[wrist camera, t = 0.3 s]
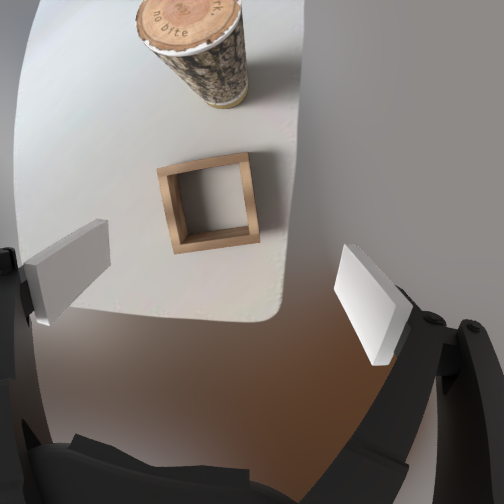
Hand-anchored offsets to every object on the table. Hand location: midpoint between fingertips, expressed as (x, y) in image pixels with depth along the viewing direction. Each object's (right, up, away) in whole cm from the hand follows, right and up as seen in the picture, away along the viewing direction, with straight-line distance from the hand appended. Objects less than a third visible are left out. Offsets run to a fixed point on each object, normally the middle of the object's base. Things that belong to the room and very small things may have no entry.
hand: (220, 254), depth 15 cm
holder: (-4, +8, +26) cm, 28 cm away
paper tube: (-2, +23, +21) cm, 32 cm away
